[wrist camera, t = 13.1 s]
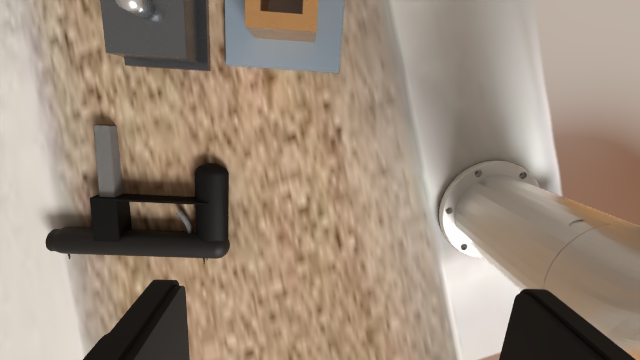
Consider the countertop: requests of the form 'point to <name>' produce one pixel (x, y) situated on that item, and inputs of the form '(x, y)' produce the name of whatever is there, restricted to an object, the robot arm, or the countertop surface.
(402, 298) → the countertop surface
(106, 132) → the door handle
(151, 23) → the grey block
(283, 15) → the wooden hollow block
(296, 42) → the rubber pad
